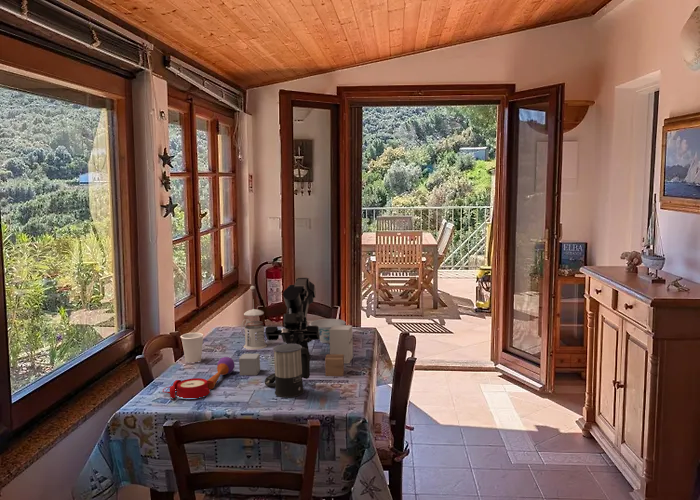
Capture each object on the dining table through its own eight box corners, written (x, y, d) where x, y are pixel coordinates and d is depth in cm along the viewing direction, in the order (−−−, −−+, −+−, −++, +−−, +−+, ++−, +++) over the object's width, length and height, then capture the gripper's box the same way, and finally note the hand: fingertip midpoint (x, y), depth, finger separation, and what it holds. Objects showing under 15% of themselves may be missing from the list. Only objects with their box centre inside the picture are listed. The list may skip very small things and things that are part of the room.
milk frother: (296, 399, 187) (294, 352, 186) (250, 394, 193) (248, 348, 191) (314, 384, 201) (312, 340, 199) (271, 380, 206) (269, 337, 204)
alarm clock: (209, 388, 189) (161, 379, 188) (206, 408, 189) (157, 399, 189) (215, 378, 199) (169, 369, 198) (212, 396, 200) (166, 388, 199)
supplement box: (349, 363, 222) (348, 329, 221) (329, 363, 224) (328, 329, 222) (353, 358, 229) (352, 325, 228) (334, 357, 231) (333, 324, 230)
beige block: (243, 370, 218) (242, 353, 218) (260, 370, 218) (259, 353, 217) (239, 375, 212) (238, 358, 212) (256, 375, 212) (256, 358, 211)
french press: (272, 344, 251) (269, 284, 248) (253, 351, 241) (250, 289, 239) (254, 342, 256) (251, 283, 254) (234, 348, 247) (231, 287, 244)
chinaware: (313, 336, 263) (313, 318, 263) (348, 336, 261) (347, 318, 260) (306, 345, 249) (306, 327, 248) (343, 346, 247) (342, 327, 246)
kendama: (198, 378, 198) (218, 355, 218) (203, 395, 199) (222, 371, 219) (215, 375, 197) (234, 353, 217) (220, 392, 198) (238, 368, 218)
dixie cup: (184, 365, 225) (182, 339, 224) (180, 359, 233) (178, 334, 232) (206, 362, 229) (205, 336, 228) (202, 356, 236) (201, 331, 235)
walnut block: (327, 371, 215) (326, 354, 214) (344, 370, 214) (343, 354, 214) (325, 376, 209) (325, 359, 208) (343, 376, 209) (342, 359, 208)
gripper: (264, 303, 215) (260, 342, 206) (317, 303, 214) (315, 342, 205) (270, 320, 224) (265, 358, 215) (320, 319, 223) (318, 358, 214)
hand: (290, 354), depth 212 cm, fingers closed
